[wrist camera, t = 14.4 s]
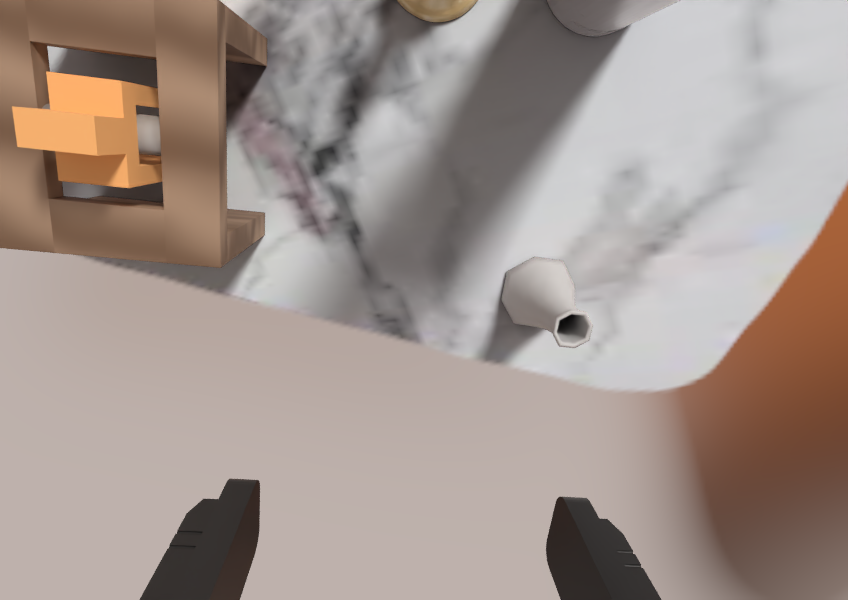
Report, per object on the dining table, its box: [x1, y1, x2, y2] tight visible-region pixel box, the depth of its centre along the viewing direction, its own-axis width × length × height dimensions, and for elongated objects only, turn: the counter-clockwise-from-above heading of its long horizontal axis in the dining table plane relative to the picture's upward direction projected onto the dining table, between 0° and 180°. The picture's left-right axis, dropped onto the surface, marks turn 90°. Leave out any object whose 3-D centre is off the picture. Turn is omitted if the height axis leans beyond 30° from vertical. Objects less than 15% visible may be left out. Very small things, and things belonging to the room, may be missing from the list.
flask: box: [501, 257, 593, 348], centre depth 43 cm, size 7×7×10 cm
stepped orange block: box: [12, 71, 162, 188], centre depth 32 cm, size 6×4×14 cm, turn 173°
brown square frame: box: [0, 0, 267, 268], centre depth 36 cm, size 16×14×12 cm
